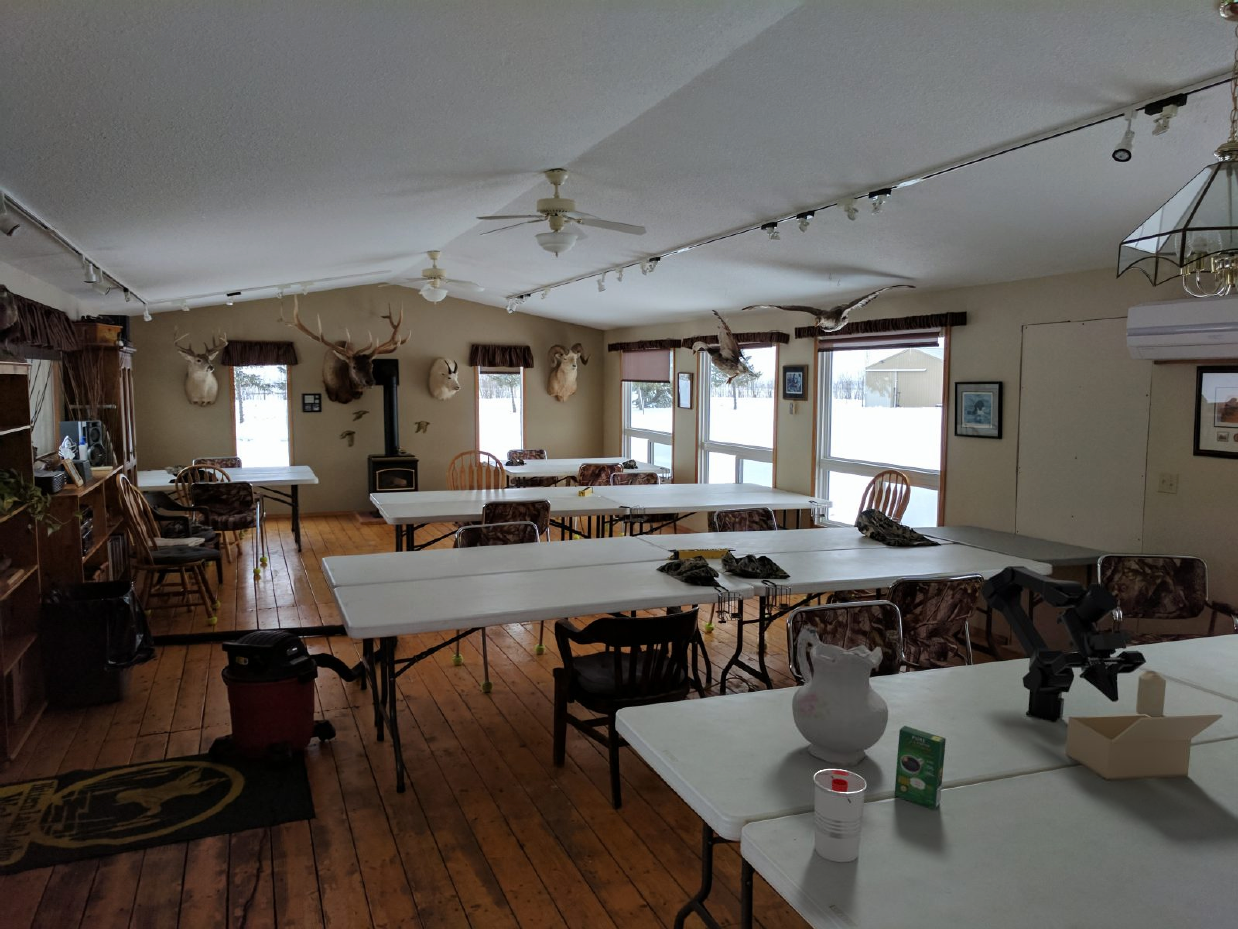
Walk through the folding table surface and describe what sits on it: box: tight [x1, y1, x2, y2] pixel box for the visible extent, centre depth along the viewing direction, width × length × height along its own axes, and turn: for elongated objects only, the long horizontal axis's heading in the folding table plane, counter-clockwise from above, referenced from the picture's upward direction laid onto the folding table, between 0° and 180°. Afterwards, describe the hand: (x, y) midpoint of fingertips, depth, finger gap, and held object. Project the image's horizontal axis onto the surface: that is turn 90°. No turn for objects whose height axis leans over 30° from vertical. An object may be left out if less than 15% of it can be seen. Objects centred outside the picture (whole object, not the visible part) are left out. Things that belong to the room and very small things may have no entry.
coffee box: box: [893, 725, 947, 811], centre depth 156 cm, size 8×3×13 cm, turn 49°
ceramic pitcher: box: [791, 625, 889, 768], centre depth 176 cm, size 22×20×25 cm
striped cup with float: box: [812, 768, 868, 863], centre depth 138 cm, size 10×8×12 cm
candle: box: [1135, 670, 1167, 717], centre depth 202 cm, size 6×6×10 cm
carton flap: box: [1112, 714, 1223, 743], centre depth 163 cm, size 10×17×1 cm
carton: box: [1065, 713, 1192, 781], centre depth 173 cm, size 12×18×8 cm, turn 98°
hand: (1115, 701), depth 177 cm, fingers closed
